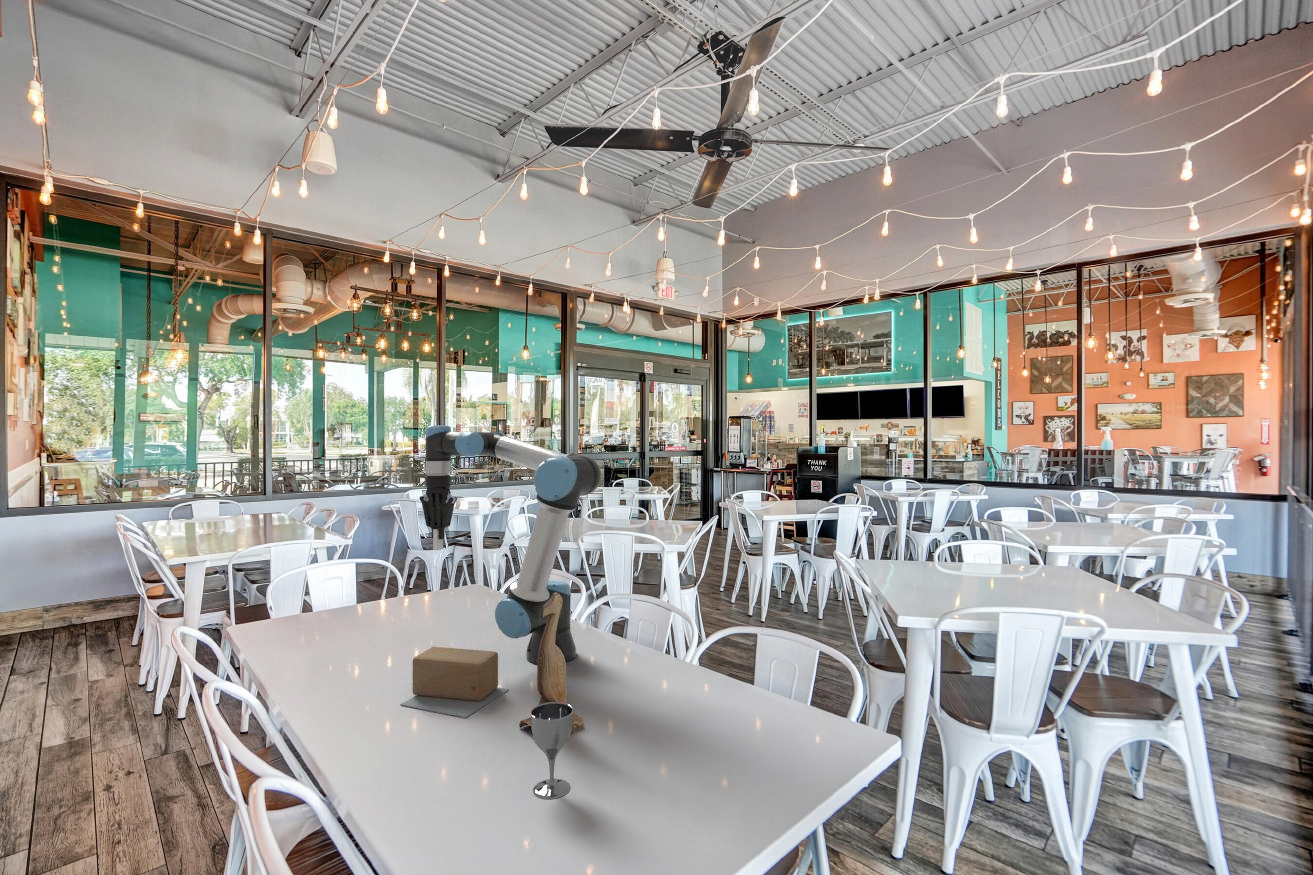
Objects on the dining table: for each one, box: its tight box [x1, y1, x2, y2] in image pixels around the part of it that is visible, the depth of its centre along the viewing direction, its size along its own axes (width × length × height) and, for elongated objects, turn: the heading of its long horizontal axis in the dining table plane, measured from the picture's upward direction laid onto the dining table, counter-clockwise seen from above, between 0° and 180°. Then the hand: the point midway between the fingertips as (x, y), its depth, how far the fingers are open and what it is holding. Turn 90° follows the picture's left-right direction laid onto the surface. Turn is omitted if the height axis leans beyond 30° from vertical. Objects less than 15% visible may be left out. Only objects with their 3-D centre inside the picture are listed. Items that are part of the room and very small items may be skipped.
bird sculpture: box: [518, 592, 585, 734], centre depth 145 cm, size 11×12×32 cm
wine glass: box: [530, 702, 574, 800], centre depth 121 cm, size 8×8×15 cm
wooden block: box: [412, 646, 499, 701], centre depth 166 cm, size 10×10×20 cm
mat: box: [399, 686, 510, 719], centre depth 163 cm, size 20×18×1 cm
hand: (438, 549), depth 197 cm, fingers closed
